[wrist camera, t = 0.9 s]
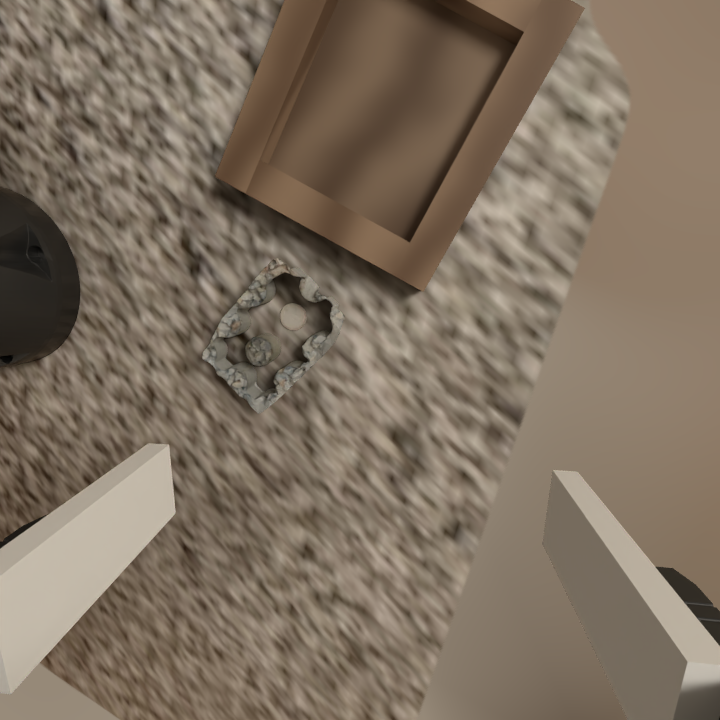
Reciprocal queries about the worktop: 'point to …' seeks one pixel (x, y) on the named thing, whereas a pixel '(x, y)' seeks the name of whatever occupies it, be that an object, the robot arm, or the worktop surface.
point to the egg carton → (269, 338)
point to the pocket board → (390, 117)
